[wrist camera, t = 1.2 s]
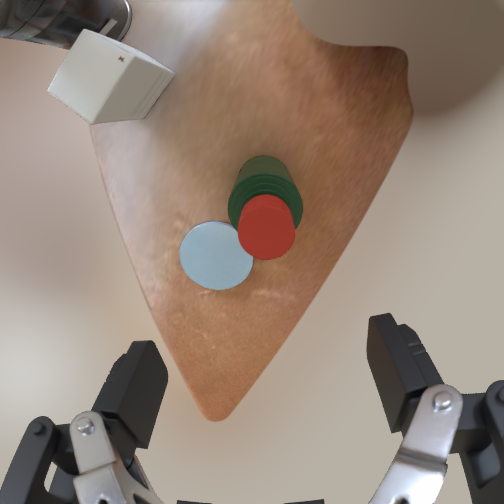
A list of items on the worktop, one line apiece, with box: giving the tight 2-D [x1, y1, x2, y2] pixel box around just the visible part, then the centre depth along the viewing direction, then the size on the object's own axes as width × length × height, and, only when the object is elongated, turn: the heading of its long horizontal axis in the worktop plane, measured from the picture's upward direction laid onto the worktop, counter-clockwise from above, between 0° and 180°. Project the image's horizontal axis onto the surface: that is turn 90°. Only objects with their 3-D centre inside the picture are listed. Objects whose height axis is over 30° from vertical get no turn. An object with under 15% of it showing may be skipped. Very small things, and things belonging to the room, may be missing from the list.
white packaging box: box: [47, 29, 175, 125], centre depth 25 cm, size 7×7×13 cm
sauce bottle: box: [228, 156, 303, 232], centre depth 28 cm, size 6×6×17 cm
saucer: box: [180, 221, 253, 290], centre depth 40 cm, size 10×10×1 cm
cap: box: [237, 194, 295, 260], centre depth 22 cm, size 4×4×3 cm
